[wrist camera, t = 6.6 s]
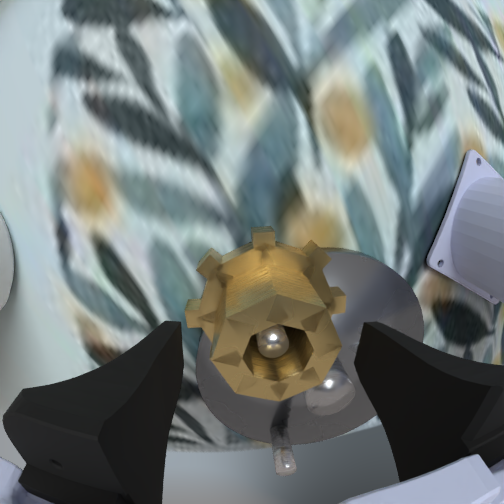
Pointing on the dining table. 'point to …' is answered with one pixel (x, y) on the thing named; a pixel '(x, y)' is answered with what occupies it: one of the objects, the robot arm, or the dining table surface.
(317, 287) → the planet gear
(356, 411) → the carrier
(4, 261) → the alcohol
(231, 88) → the dining table surface
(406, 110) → the dining table surface
